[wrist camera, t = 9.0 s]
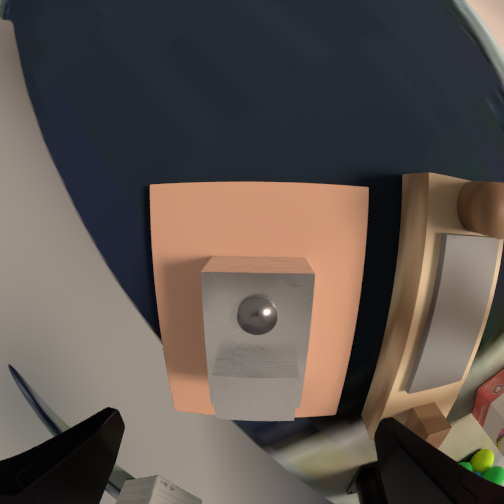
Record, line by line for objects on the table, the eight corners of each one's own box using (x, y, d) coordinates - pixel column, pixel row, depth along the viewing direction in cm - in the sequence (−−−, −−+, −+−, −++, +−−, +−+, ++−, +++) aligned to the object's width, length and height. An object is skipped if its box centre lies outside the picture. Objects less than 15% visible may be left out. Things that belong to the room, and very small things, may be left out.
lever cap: (295, 377, 17) (302, 426, 12) (218, 375, 17) (206, 423, 12) (305, 257, 15) (322, 284, 10) (212, 255, 15) (192, 282, 11)
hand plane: (430, 400, 18) (458, 444, 12) (361, 414, 18) (381, 469, 12) (478, 188, 14) (539, 193, 8) (402, 174, 14) (465, 170, 8)
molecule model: (447, 464, 21) (430, 489, 23) (467, 505, 12) (445, 525, 14) (490, 439, 20) (472, 467, 22) (513, 473, 12) (489, 499, 13)
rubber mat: (334, 409, 18) (335, 414, 17) (177, 405, 18) (175, 410, 18) (365, 187, 14) (368, 187, 14) (153, 184, 15) (149, 184, 14)
